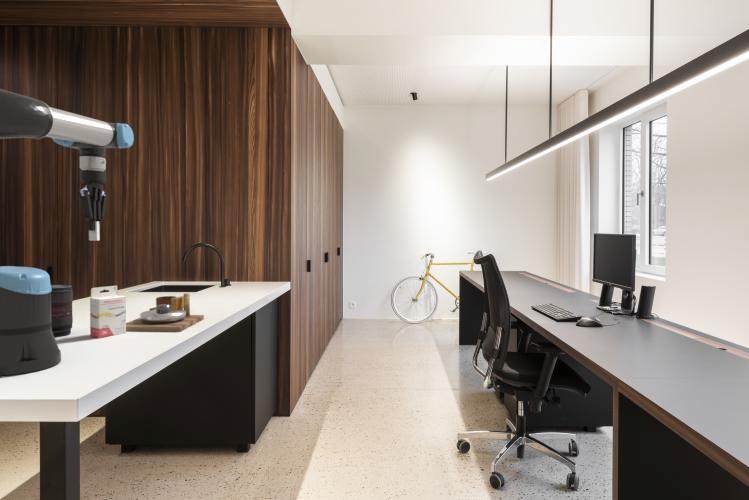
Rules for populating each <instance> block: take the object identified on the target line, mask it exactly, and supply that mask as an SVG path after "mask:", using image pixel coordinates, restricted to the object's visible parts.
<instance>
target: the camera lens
mask: <svg viewBox="0 0 749 500" xmlns="http://www.w3.org/2000/svg"><path fill="white" fill-rule="evenodd" d="M51 287H52V291H51V327H52V333H53V335H54V337H55V338H58V337H64V336H65V337H66V336H68V335H70V334H71V332H72V331H71V330H72V329H73V322H74V321H73V320H74V318H73V302H74V295H73V294H74V293H73V286H72V285H69V284H67V285H66V284H51Z"/></svg>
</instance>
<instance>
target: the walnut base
mask: <svg viewBox="0 0 749 500" xmlns="http://www.w3.org/2000/svg"><path fill="white" fill-rule="evenodd" d="M183 296H184V308H183V310H185V311H186V318H184V319H181V320H177V321H170V322H143V321H141V317H138V318H135V319H133V320H131V321H128V322H126V332H173V333H174V332H175V333H176V332H179V333H180V332H182V331H184V330H187V329H188V328H190V327H192V326H195V325H196V324H197V323H199V322H201V321H203V320H205V314H191V305H190V304H191V301H190V300H191V299H190V296H191V295H190V293H189V292H188V293H187V292H186V293H183Z"/></svg>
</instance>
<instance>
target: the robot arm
mask: <svg viewBox="0 0 749 500" xmlns="http://www.w3.org/2000/svg"><path fill="white" fill-rule="evenodd" d="M23 138H24V139H33V140H39V139H42V138H50V139H52V140H53V142H54V143H56V144H57V145H60V146H62V147H65V148H71V149H74V150H75V149H76V150H79V169H80V171H79V180H80V182H83V185H82V189H77V190H78V191H77V194H78V195H79V199H80V204H81V210H82V217H83V219H84V221H85V222H88V241H93V242H95V241H100V239H101V238H100V237H101V235H100V227H101V226H100V222H103V221H104V219H105V213H106V205H107V199H108V196H109V194H108V192H106V191H104V186H103V184H105V183H106V182H107V173H106V170H107V169H106V168H107V166H106V165H107V161H106V159H107V157H106V153H107V151H106V150H107V149H129V148H131V147H132V146H133V145H134V141H135V138H134V131H133V129H132V128H131V126H130V125H128V124H127V123H120V122H117V123H115V122H107V121H103V120H99V119H95V118H93V117H88V116H85V115H82V114H79V113H78V114H77V113H74V112H70V111H67V110H62V109H59V108H55V107H51V106H49V105H48V104H47V103H46V102H44V101H42V100H40V99H38V98H34V97H31V96H27V95H23V94H20V93H17V92H13V91H9V90H5V89H2V88H0V140H2V139H3V140H4V139H23ZM51 285H52V284H51V277H50V274H49V273H48V272H47V271H46V270H44V269H40V268H37V267H29V266H15V265H7V266H6V265H4V266H3V265H2V266H0V376H11V375H14V376H15V375H21V374H27V373H33V372H37V371H42V370H45V369H48V368H52V367H53V366H54V367H55V366H56V365H58V364H60V363H61V362H62V352H61V349H60V348H59V346H58V343H57V340H56V337H54V335H53V333H52V327H51V291H52V287H51Z"/></svg>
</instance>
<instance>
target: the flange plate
mask: <svg viewBox="0 0 749 500" xmlns="http://www.w3.org/2000/svg"><path fill="white" fill-rule="evenodd" d="M182 308H183V310H182ZM140 318H141V321H143V322H170V321H177V320H181V319H184V318H186V311H185V310H184V295H182V296H175V298H171V305H169V304H162V305H157V306H156V310H147V311H143V312H140Z"/></svg>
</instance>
